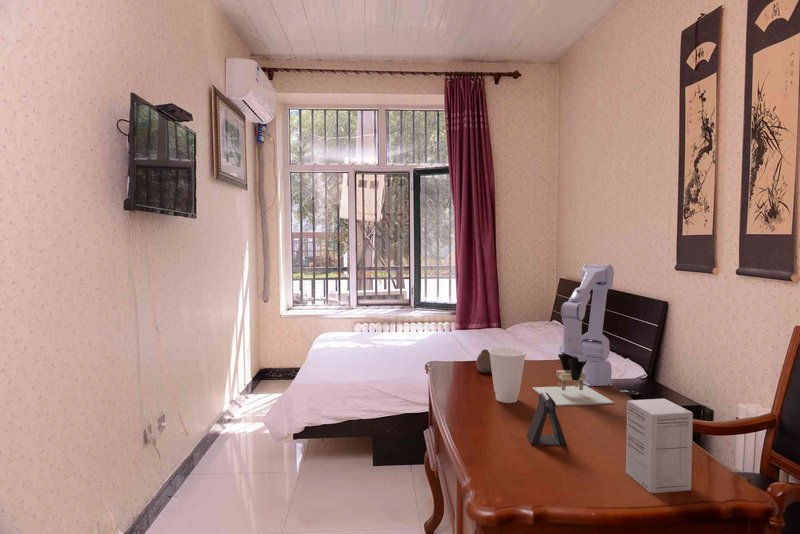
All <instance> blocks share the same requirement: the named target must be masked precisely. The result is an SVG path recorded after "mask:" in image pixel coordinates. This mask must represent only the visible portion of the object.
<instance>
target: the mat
mask: <svg viewBox="0 0 800 534" xmlns="http://www.w3.org/2000/svg"><path fill="white" fill-rule="evenodd" d="M531 389H532V390H534V392H536V393H537V394H538V395H539V394H540V393H542V392H543V394H544V395H545V396H546V398H547V399H549V397H548V396H547V395H546V393H548V394H549V395H550V397H551V398H552V399H553V400H554V402H555V403H556V407H566V406H588V405H593V406H594V405H614V404H615V402H614V401H612V399H609V398H608V397H606V396H604V395H602V394H601V393H599V392H597V391H596V390H594V389H593V388H591V387H590V386H587V385H585V384H584V385H583V390H579V387H575V385H566V390H565V391H563V390H562V385H561V387H558V386H535V387H532V388H531Z"/></svg>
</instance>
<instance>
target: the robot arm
mask: <svg viewBox="0 0 800 534" xmlns="http://www.w3.org/2000/svg"><path fill="white" fill-rule="evenodd" d="M614 275H615V271H614V267H613V266H612V264H610V263H608V264H594V263H593V264H592V263H585V264H584V265H583V266H582V270H581V276H582V280H581V283H580V285H579V286H578V287H576V288H575V289H574V290H573V291H572V294H571V295H570V297H569V299H568V301H565V302H563V303H562V304H561V308H560V316H561V323H562V324H563V333H562V334H563V336H562V337H563V344H562V345H560V346H559V353H558V354H557V355H558V356H557V357H558V358H559V360H560V363H561V366H562V370H571V376H572V380H571V381H575V380H579V378H580V375H581V372H583V373H584V374H586V377H585V380H583V385H584V386H585V385H586V386H587V387H598V386H599V387H600V386H601V387H603V386H606V387H607V386H613V383H612V370H613V369H612V364H611V361H610V360H609V356H610V350H611V349H610V340H609V338H608V337H607V336H606V335H604V334H603V331H604V329H603V328H604V321H605V314H606V313H605V312H606V303H607V294H608V290H610V289H612V288H613V285H614V278H615V276H614ZM591 291H592V297H591V293H590V292H591ZM590 298H591V306H590V313H589V321H588V329H587V330H588V331H587V332H585V333H584V334H582V327H583V326H582V325H583V323H582V322H583V319H584V318H585V317H586V316H585V315H586V311H587V307H586V306H587V304H588V302H589V301H590ZM606 383H607V384H606ZM608 384H609V385H608Z"/></svg>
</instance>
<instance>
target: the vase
mask: <svg viewBox="0 0 800 534" xmlns="http://www.w3.org/2000/svg"><path fill="white" fill-rule="evenodd" d="M489 351H490V350H489V349H482V350H481V351H480V353H479V354H478V356H477V358H476V363H475V364H476V368H477V370H478V371H479V372H480V373H485V374H487V373H488V374H489V373H492V368H491V361H490V353H489Z"/></svg>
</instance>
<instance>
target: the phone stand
mask: <svg viewBox="0 0 800 534" xmlns="http://www.w3.org/2000/svg"><path fill="white" fill-rule="evenodd" d="M546 395H547V396H548V397H549V399H547V398H546V396H545V395H544V394H543V392H542V393H540V394H538V397H537V398H538V404H537V407H536V409H535V411H534V414H533V417H532V420H531V422H530V424H529V427H528V429H527V432H526V436H527V438H528V440H529V443H530V444H531V446H533V445H549V446H550V445H557V446H556V447H567V446H568V444H567V441H566V438H565V435H564V432H563V429H562V426H561V423H560V421H559V418H558V415H557V413H556V407H557V406H556V403H555V402H554V400H553V399H552V398H551V397H550V395H549V394H548V393H546ZM547 415H548V418H549V422H550V426H551V430H552V433H553V434H543V429H544V426H545V423H546V419H547ZM559 445H560V446H559Z"/></svg>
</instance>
